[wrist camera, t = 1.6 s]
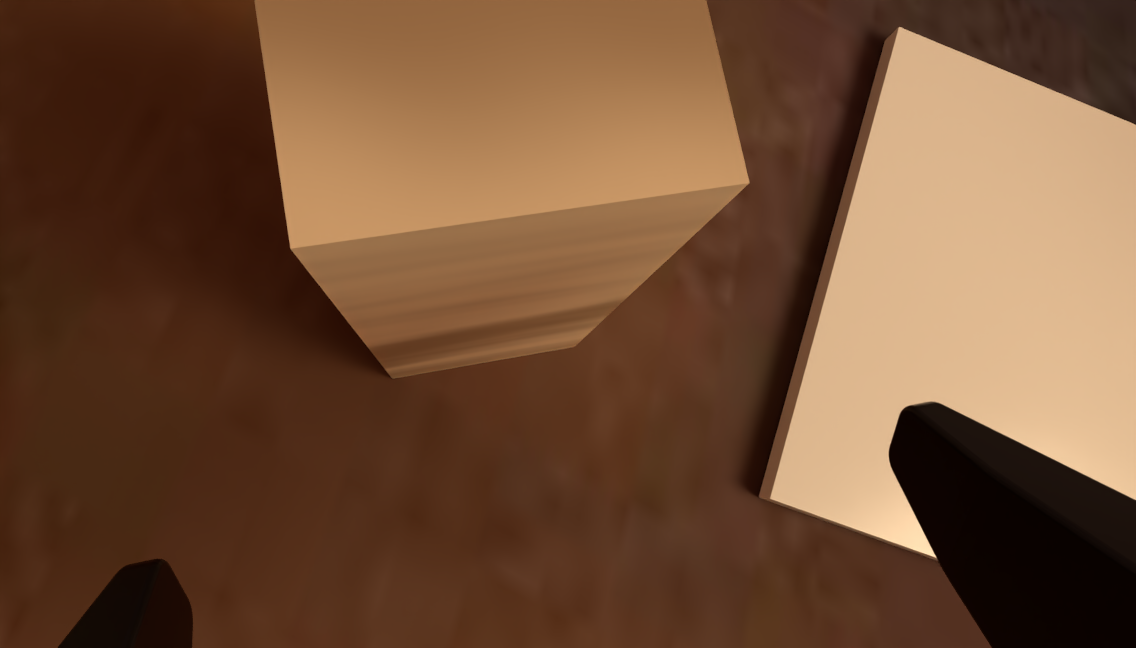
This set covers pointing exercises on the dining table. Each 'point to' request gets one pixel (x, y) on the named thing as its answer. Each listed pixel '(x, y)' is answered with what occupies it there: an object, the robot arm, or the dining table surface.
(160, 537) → the dining table surface
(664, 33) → the wood block
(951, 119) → the tile
